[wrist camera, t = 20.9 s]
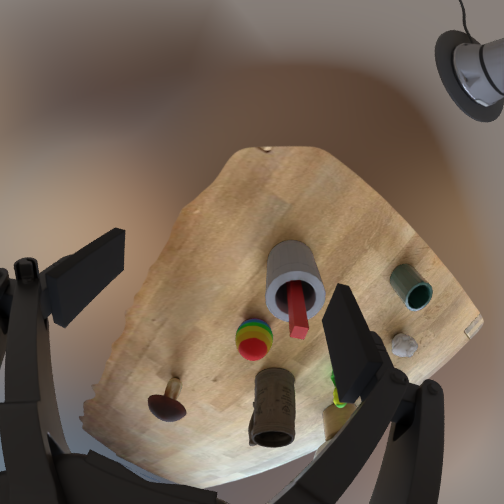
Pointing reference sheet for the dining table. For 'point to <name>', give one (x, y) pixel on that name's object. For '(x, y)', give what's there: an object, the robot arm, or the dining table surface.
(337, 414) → the lamp
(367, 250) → the dining table surface
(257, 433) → the dark grey hollow cylinder
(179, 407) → the decorative mushroom
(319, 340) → the dining table surface
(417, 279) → the pen pot
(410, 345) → the grey wrinkled ball
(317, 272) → the vase
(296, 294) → the paint brush
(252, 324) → the decorative egg
